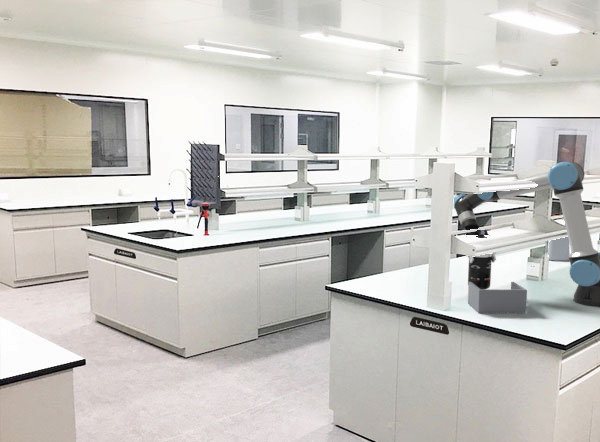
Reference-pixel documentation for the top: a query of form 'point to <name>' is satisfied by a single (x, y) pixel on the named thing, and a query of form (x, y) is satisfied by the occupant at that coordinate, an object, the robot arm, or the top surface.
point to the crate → (497, 299)
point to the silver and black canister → (480, 270)
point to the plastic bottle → (559, 249)
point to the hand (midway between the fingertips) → (483, 261)
